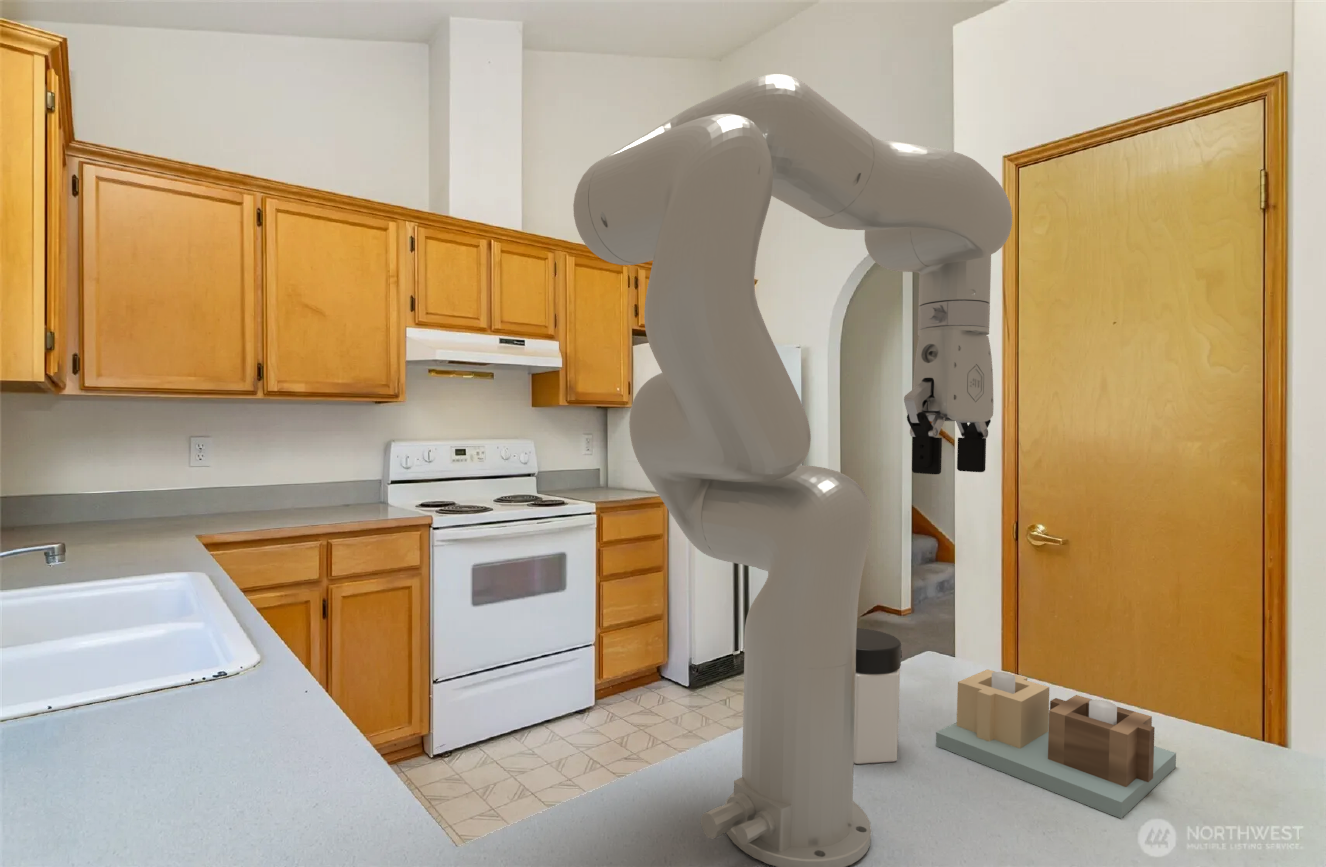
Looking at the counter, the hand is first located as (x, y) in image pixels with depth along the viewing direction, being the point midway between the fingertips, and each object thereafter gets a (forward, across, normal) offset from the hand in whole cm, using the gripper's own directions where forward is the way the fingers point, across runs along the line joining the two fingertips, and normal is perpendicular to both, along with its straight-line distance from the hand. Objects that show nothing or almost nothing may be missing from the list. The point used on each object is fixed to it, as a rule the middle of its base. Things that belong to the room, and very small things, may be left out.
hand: (949, 472), depth 79 cm
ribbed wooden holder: (+29, +4, -15) cm, 32 cm away
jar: (+31, -10, +4) cm, 32 cm away
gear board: (+30, +5, -10) cm, 32 cm away
